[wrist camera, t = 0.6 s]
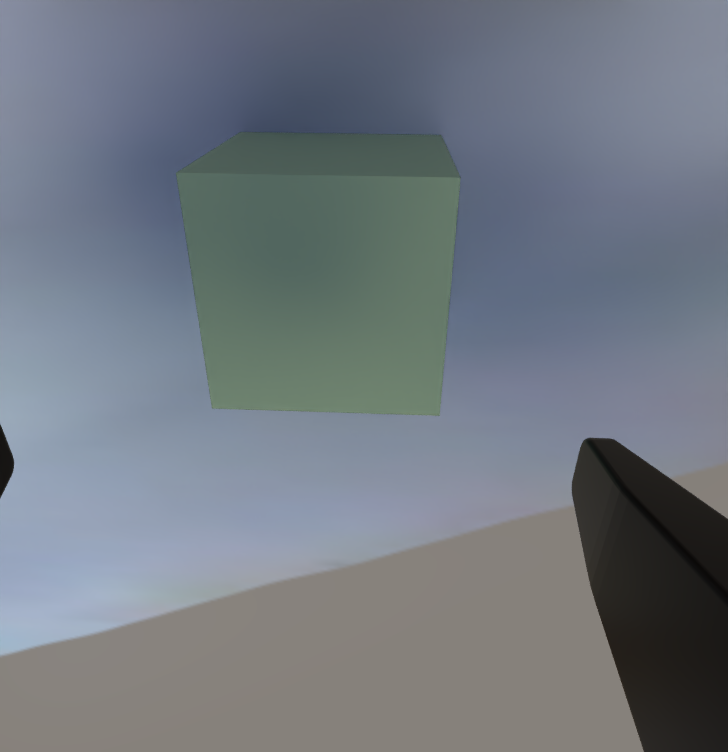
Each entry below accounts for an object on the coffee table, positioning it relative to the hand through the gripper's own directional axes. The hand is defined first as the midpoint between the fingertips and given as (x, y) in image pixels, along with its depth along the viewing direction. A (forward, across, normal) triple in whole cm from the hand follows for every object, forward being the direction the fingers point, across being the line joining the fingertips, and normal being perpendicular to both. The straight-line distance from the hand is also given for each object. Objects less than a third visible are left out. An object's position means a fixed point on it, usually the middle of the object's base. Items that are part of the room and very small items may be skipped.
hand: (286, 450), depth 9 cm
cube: (+12, 0, 0) cm, 12 cm away
